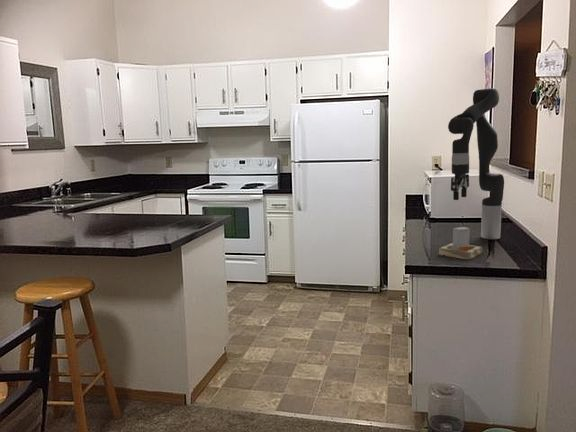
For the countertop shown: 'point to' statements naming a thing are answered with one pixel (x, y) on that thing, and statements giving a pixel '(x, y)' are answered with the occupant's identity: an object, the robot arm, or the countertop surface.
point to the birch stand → (451, 252)
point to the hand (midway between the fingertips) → (459, 198)
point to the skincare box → (461, 238)
